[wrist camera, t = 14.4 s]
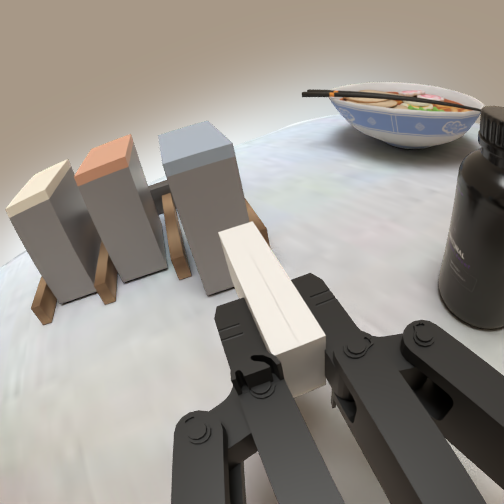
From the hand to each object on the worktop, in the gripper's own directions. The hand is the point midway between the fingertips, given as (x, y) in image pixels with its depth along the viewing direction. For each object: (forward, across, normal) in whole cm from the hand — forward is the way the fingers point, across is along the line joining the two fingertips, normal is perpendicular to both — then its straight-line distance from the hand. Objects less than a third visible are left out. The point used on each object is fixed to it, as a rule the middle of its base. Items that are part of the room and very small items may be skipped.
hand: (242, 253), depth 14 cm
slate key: (+10, 0, -7) cm, 12 cm away
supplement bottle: (-3, +14, -7) cm, 16 cm away
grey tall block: (+15, -13, -7) cm, 21 cm away
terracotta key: (+15, -7, -7) cm, 18 cm away
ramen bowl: (+23, +30, -7) cm, 39 cm away
